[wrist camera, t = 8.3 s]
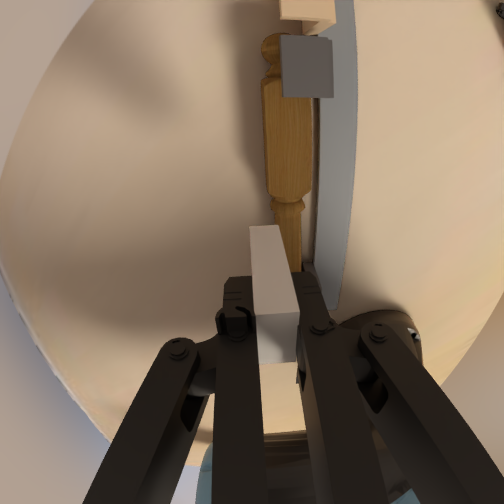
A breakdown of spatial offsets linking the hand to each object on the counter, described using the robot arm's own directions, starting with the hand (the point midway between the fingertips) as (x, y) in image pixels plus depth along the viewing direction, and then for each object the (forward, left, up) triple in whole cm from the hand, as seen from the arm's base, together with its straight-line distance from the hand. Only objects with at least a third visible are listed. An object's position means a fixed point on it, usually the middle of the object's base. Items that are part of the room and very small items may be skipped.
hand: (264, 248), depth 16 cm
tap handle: (-3, -2, -10) cm, 10 cm away
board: (+3, -3, -9) cm, 10 cm away
